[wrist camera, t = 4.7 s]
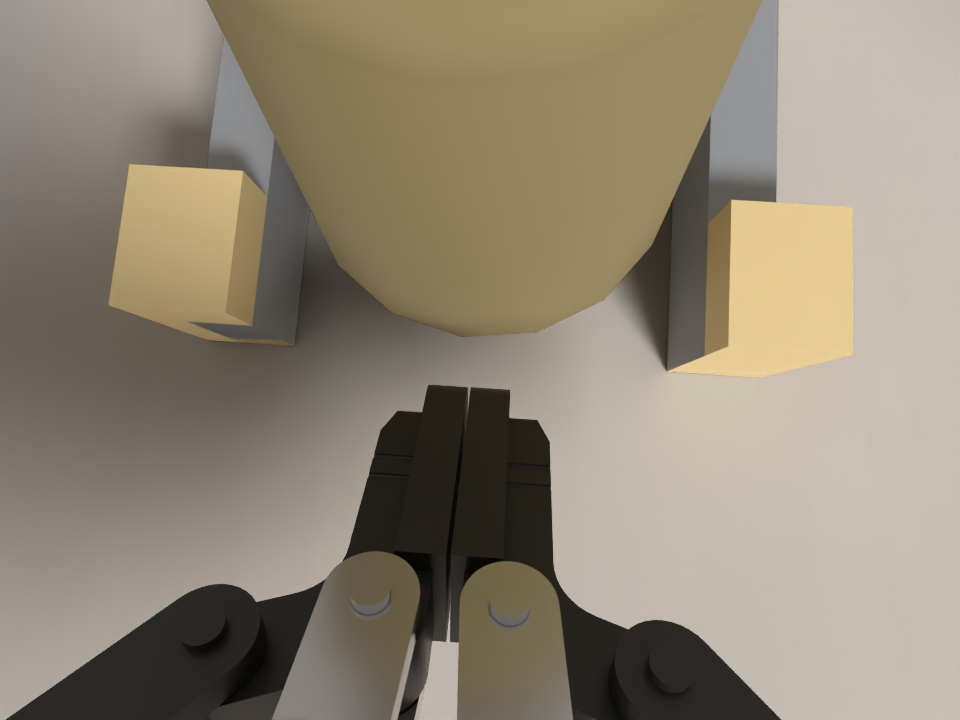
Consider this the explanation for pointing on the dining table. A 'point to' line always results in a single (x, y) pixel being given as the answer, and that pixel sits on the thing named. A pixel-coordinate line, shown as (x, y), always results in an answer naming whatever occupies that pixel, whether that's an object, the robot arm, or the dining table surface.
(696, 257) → the wooden post frame
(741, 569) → the dining table surface
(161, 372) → the dining table surface
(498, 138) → the squeeze bottle
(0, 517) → the dining table surface
